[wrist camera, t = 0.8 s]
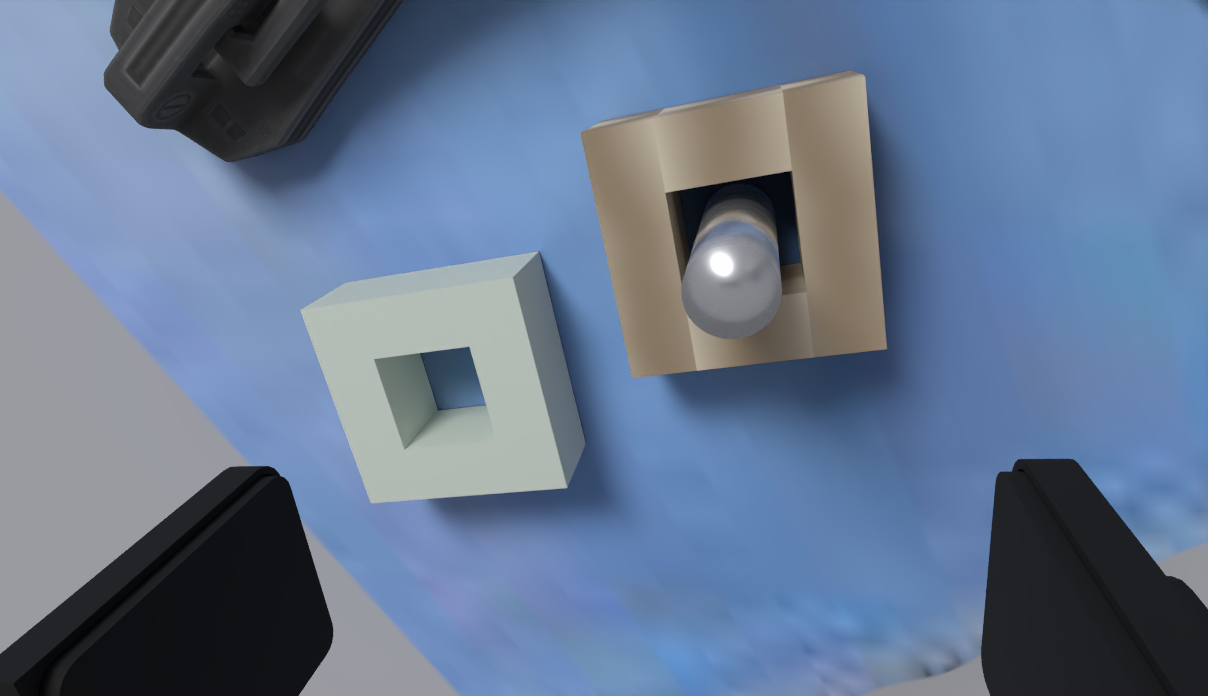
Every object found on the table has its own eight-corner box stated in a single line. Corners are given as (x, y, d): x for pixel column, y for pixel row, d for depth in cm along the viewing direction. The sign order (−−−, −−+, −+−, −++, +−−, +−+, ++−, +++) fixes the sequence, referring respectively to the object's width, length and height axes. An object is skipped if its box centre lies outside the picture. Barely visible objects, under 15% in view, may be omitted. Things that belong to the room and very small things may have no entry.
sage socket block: (539, 251, 34) (512, 277, 30) (585, 444, 37) (567, 488, 34) (345, 282, 36) (300, 310, 33) (406, 460, 40) (370, 503, 36)
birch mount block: (851, 70, 29) (864, 75, 25) (872, 313, 32) (886, 349, 29) (601, 121, 31) (580, 132, 28) (645, 341, 35) (632, 377, 31)
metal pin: (770, 177, 31) (775, 237, 22) (779, 247, 32) (787, 332, 23) (698, 189, 32) (673, 252, 23) (709, 258, 33) (689, 344, 24)
